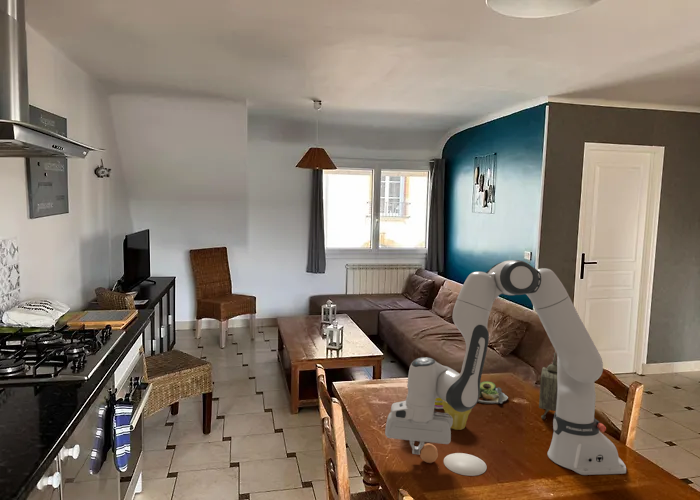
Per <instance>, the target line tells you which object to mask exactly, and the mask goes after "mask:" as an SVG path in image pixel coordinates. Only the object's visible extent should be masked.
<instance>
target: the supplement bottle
mask: <svg viewBox="0 0 700 500" xmlns="http://www.w3.org/2000/svg"><path fill="white" fill-rule="evenodd" d="M434 410H444V409H443V400H442V399H441V398H436V399H435V407H434Z"/></svg>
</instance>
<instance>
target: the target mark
mask: <svg viewBox="0 0 700 500" xmlns="http://www.w3.org/2000/svg"><path fill="white" fill-rule="evenodd" d="M443 465H444V466H445V467H446V468H447V469H448V470H449V471H451V472H453V473H455V474H457V475H462V476H468V477H469V476H470V477H476V476H481V475H482V474H484V473H485V472H486V471H487V468H488V467H487V464H486V462H485V461H484V460H482V459H481V458H479V457H478V456H475V455H473V454H470V453H469V454H468V453H463V452H455V453H450V454H447V455H446V456H445V457H444V458H443Z"/></svg>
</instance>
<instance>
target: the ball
mask: <svg viewBox="0 0 700 500" xmlns="http://www.w3.org/2000/svg"><path fill="white" fill-rule="evenodd" d="M438 451H439V450H438V448H437V447H436V446H435V445H434V443H431V442H426V443H424V446H423V447H422V449H421V450H420V458H421V460H422V461H423V462H425V463H428V464H432V463H434V462H435V461H436V460H437V459H438V456H439V453H438Z"/></svg>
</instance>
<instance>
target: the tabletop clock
mask: <svg viewBox="0 0 700 500" xmlns="http://www.w3.org/2000/svg"><path fill="white" fill-rule="evenodd" d="M556 356H557V353H556V352H554V353H553V360H552V363H550V364H549V365H547V367H545V366H543V367H542V369H541V375H540V384H539V385H540V386H539V388H540V389H539V399H538V400H539V401H538V403H539V404H538V409H541V410H545V411H544V414H542V415H541V416H540V417H541V419H542V420H545V419H547V417H546V415H547V413H548V412H550V411H554V412H556V405H557V389H558V385H557V360H556Z"/></svg>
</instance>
